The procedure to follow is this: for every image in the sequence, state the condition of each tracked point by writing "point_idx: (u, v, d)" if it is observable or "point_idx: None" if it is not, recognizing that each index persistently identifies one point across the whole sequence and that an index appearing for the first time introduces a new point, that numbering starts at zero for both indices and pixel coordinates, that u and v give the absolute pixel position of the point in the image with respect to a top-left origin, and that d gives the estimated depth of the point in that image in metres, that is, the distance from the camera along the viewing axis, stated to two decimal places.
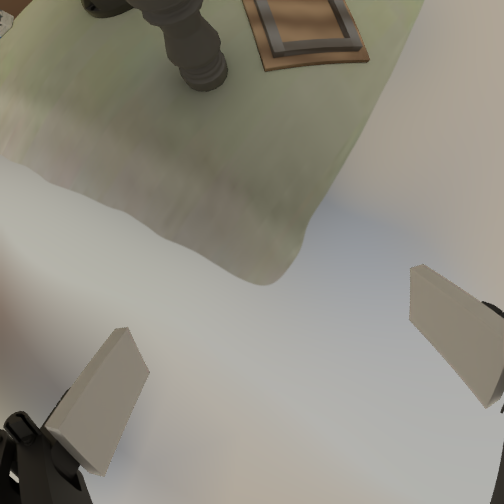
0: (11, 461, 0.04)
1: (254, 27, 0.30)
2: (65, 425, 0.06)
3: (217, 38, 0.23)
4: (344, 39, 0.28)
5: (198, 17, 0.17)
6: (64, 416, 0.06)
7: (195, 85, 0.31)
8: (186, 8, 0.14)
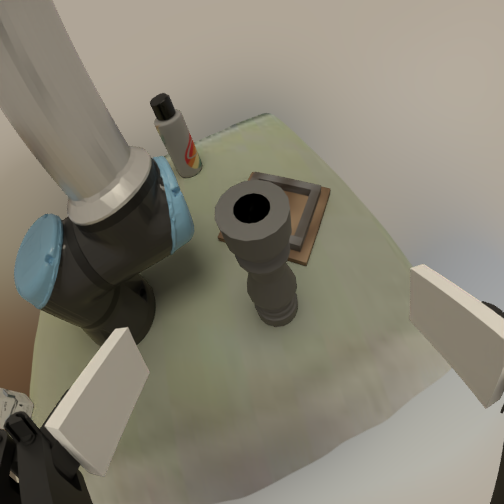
0: (11, 461, 0.04)
1: None
2: (65, 425, 0.06)
3: None
4: (310, 194, 0.47)
5: None
6: (64, 416, 0.06)
7: (289, 317, 0.38)
8: None
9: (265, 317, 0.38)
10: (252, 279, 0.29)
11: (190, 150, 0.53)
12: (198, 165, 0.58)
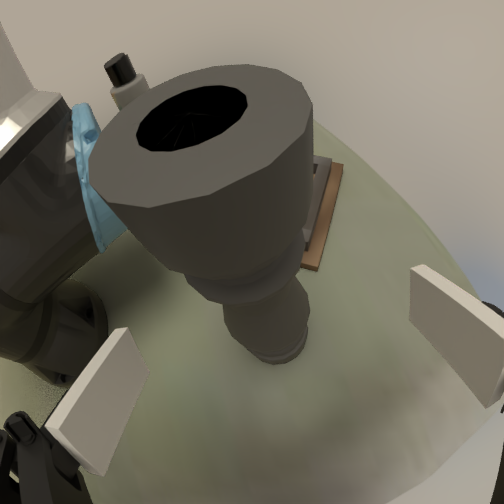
0: (11, 461, 0.04)
1: None
2: (65, 425, 0.06)
3: None
4: (318, 169, 0.33)
5: None
6: (64, 416, 0.06)
7: (296, 353, 0.24)
8: None
9: (258, 355, 0.24)
10: (227, 306, 0.15)
11: None
12: None
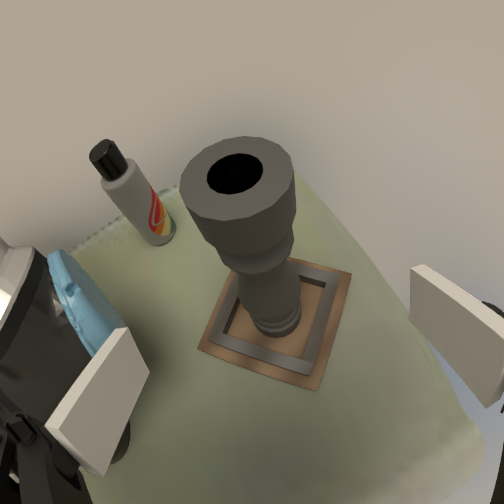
0: (11, 461, 0.04)
1: (258, 370, 0.32)
2: (65, 425, 0.06)
3: None
4: (326, 290, 0.33)
5: None
6: (64, 416, 0.06)
7: (292, 327, 0.31)
8: None
9: (262, 328, 0.31)
10: (243, 281, 0.22)
11: (155, 215, 0.39)
12: (170, 230, 0.43)
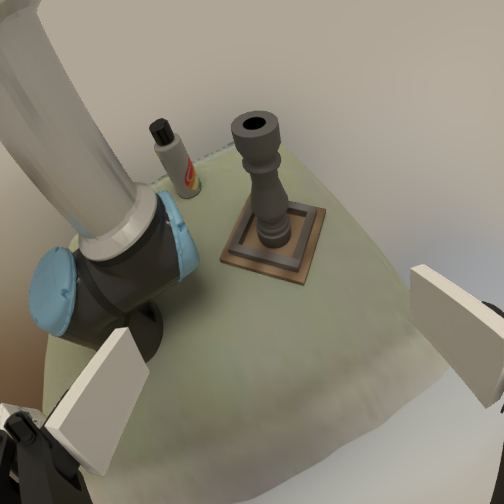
0: (11, 461, 0.04)
1: (263, 270, 0.49)
2: (65, 425, 0.06)
3: None
4: (307, 216, 0.50)
5: None
6: (64, 416, 0.06)
7: (285, 236, 0.48)
8: (276, 153, 0.35)
9: (265, 236, 0.48)
10: (254, 189, 0.39)
11: (190, 173, 0.56)
12: (197, 186, 0.60)
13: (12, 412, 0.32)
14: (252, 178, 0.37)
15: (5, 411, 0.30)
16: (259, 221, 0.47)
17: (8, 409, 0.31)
